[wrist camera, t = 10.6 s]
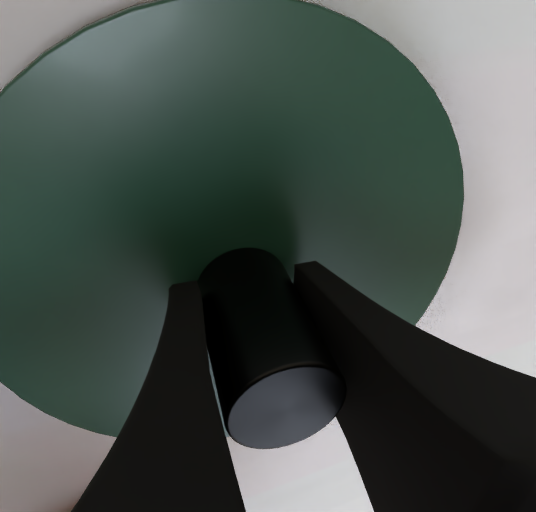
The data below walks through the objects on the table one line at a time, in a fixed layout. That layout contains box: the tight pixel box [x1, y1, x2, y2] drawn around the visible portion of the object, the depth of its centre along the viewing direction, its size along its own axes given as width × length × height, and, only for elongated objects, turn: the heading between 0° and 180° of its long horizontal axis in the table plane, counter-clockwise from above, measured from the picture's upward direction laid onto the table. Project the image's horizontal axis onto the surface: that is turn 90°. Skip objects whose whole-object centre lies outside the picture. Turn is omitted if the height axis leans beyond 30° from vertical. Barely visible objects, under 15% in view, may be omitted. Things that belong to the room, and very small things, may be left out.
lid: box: [0, 0, 464, 449], centre depth 11 cm, size 14×14×5 cm
